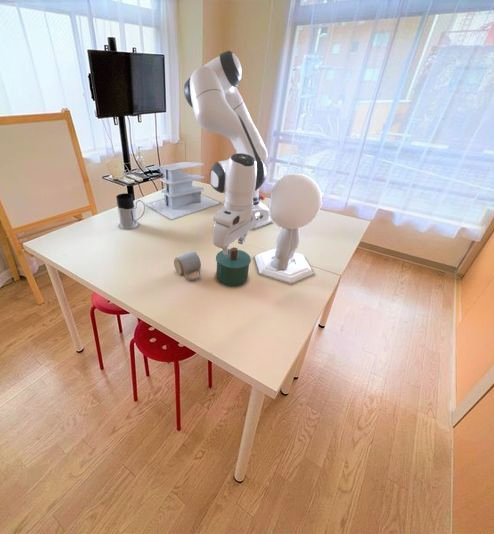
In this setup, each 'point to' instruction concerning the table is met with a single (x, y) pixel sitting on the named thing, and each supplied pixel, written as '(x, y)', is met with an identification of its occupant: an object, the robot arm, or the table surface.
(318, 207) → the globe table lamp
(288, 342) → the table surface
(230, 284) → the tin
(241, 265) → the lid
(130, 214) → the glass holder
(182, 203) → the file organizer
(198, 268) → the ceramic mug
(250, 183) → the robot arm
